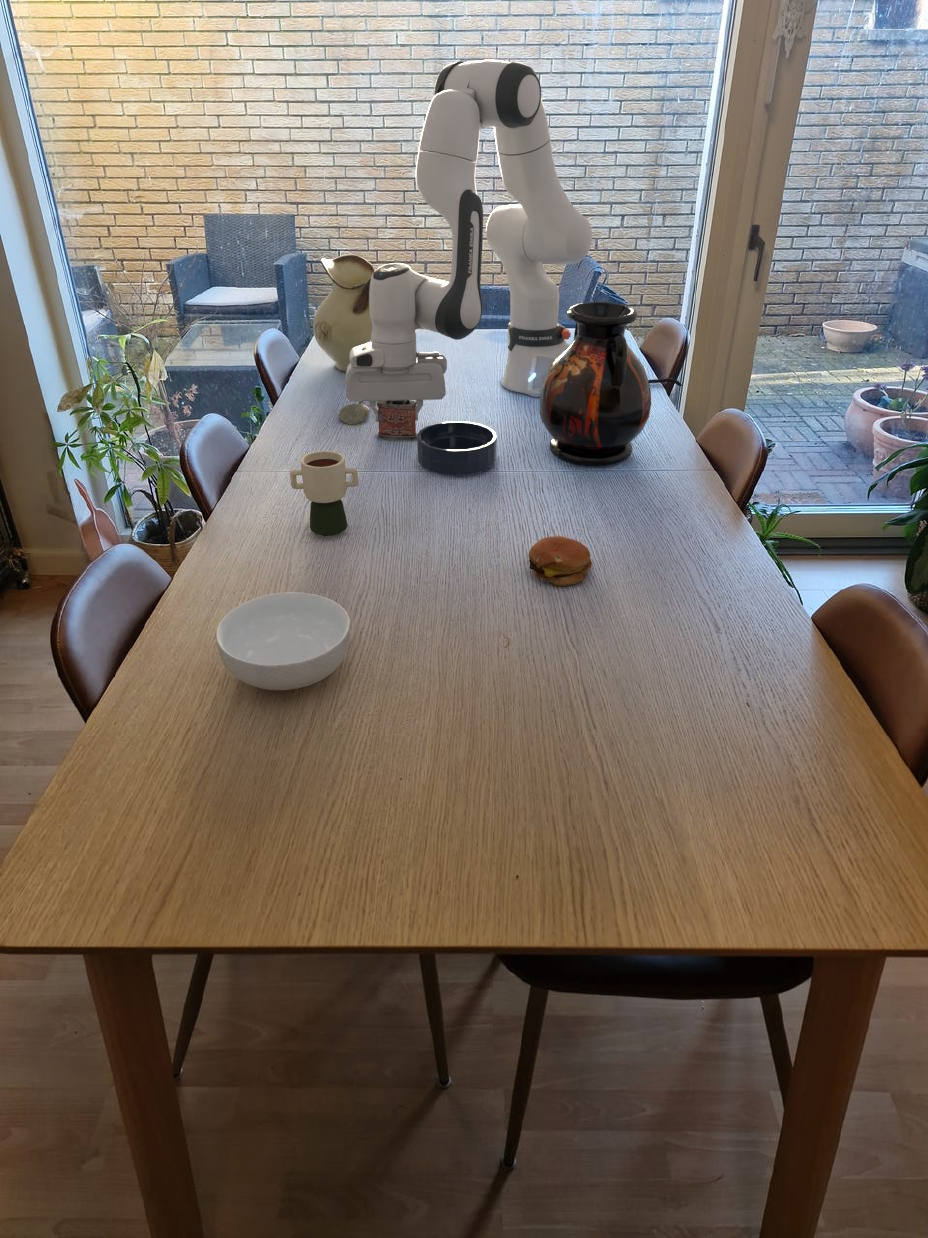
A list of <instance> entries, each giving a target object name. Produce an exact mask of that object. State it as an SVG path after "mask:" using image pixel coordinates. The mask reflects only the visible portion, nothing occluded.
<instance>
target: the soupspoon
mask: <svg viewBox="0 0 928 1238" xmlns="http://www.w3.org/2000/svg"><path fill="white" fill-rule="evenodd" d="M363 403H364V402H352V403H350V404H347V405H344V406H343V407H341V409H340V410H339V412H338V418H339V420H340V421H341V422H342V423H345V424H347V425H356V424H361V423H362V422H364V421H365V420H366V419H368V417H369V414H370V407H369V406H367V405H366V404H363Z"/></svg>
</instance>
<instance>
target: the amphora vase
mask: <svg viewBox="0 0 928 1238" xmlns="http://www.w3.org/2000/svg"><path fill="white" fill-rule="evenodd" d="M566 313H567V314H566V315H567V317H568V318H569V319H570V320H571V321H572V322H575V327H574V334H573V340H572V341H571V343H569V344H570V345H569V346H568V347H567V348H566V349H565V350H564V351H563V352H562V353H561V354H560V355H559V356H558V357H557V358H556V359H555V361H554V362H553V363H552V365H551V366H550V368H549V370H548V372H547V373H546V376H545V378H544V381H543V383H542V388H541V392H540V397H539V416H540V420H541V422H542V425H543V426H544V427H545V429H546V431H547V432H548V434H549V435H550V436H551V437H552V438H551V440H550V441H549V451H550V452H551V453H552V455H553V456H554V457H556V458H557V459H558V460H560V461H563V462H565V463H567V464H569V465H574V466H578V467H586V468H602V467H603V468H607V467H610V466H616V465H618V464H620V463H624V462H625V461H626V460H628V459H629V458H630V457H631V455H632V453H633V450H634V448H633V444H632V441H634V440H635V439H636V438H637V437H638V436H639V435H640V434H641V433H642V431H643V430H644V428H645V426H646V424H647V423H648V420H649V418H650V415H651V408H652V391H651V387H650V383H649V381H648V380H649V377H648V375H647V372H646V369H645V367H644V365H643V363H642V361H640V359H639V358H638V357H637V355H636V353H634V351H633V350H632V349H631V347H630V346H629V344H628V342H627V339H626V337H625V332H626V327H627V326H628V325H629V324H632V323H634V322H636V320H637V319H638V317H639V314H638V311H637V310H636V309H635V308H633V307H632V306H629V305H626V304H622V303H617V302H608V301H589V302H581V303H576V304H574V305H572V306H570V308H568V309H567V312H566Z"/></svg>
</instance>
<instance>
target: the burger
mask: <svg viewBox="0 0 928 1238" xmlns="http://www.w3.org/2000/svg"><path fill="white" fill-rule="evenodd" d="M527 557H528V563H529V566H528V567H529V568H528V569H529V570H532V573H533V574H534V576H535V577H536V578H538V579H539V580H541V581H542V582H550V583H552V584H553V585H555V586H557V587H566V586H567V587H568V586H574V585H575V584H576V585H577V584H579V583H581V582H583V581H584V579H586V577H587V576H588V573H589V572H590V569H592V567H593V562H592V559H591V552H590V550H589V548H588V547H587V546H586V545H585V544H583V543H582V542H581V541H579V540H577V539H573V538H570V537H566V536H563V535H553V536H546V537H543V538H541V539H539V540H538V541H537V542H535V543H534V544H533V545H532V546H531V547H530V549H529V552H528V555H527Z"/></svg>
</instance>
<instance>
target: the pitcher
mask: <svg viewBox="0 0 928 1238" xmlns="http://www.w3.org/2000/svg"><path fill="white" fill-rule="evenodd" d="M320 263H321V265H322V268H323V270H324V271H325V273H326V275H327V276H328V277H329V279H330V280H331V282H332V288H331V290H330V292H329V294H327V296H326V297H325V299H323V301H322V302H321V303H320V305H319V306H318V307H317V310H316V312H315V314H314V317H313V321H312V331H313V336H314V338H315V341H316V343H317V344H318V346H319V348H320V349H321V351H323V352H324V353H325V354H326V355H327V356H328V357H329V358H330V359H331V360H332V361H333V362H334V364H335V367H336V368H337V369H338V370H339V371H342V372H346V373H347V368H348V365H349V363H350V358H349V355H350V351H351V349H352V348H354V347H357V346H360V345H363V344H366V343H368V342H371V333H372V321H371V318H370V309H369V289H370V281H371V277H372V274H373V272H374V271H375V270H376V269H375V268H374V266H373V264H372V263H371V262H369V261H368V260H367V259H366V258H364V257H361V256H360V255H357V254H353V253H352V254H343V255H340V256H337V257H335V258H331V259H327V258H321V261H320Z"/></svg>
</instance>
